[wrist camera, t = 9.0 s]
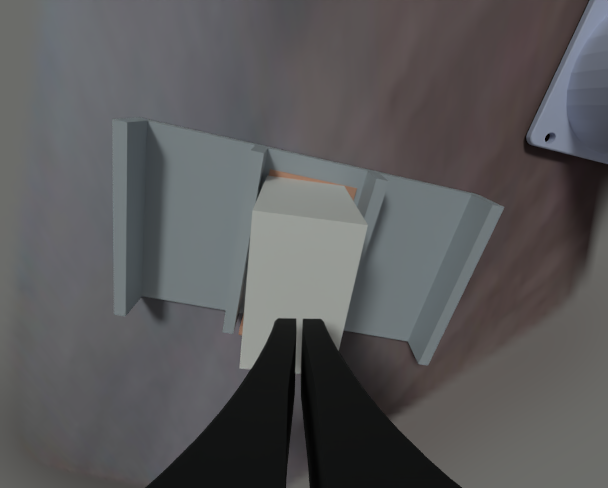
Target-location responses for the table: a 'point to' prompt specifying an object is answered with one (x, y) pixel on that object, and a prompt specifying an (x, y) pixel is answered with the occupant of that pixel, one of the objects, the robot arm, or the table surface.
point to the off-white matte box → (300, 260)
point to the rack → (237, 228)
